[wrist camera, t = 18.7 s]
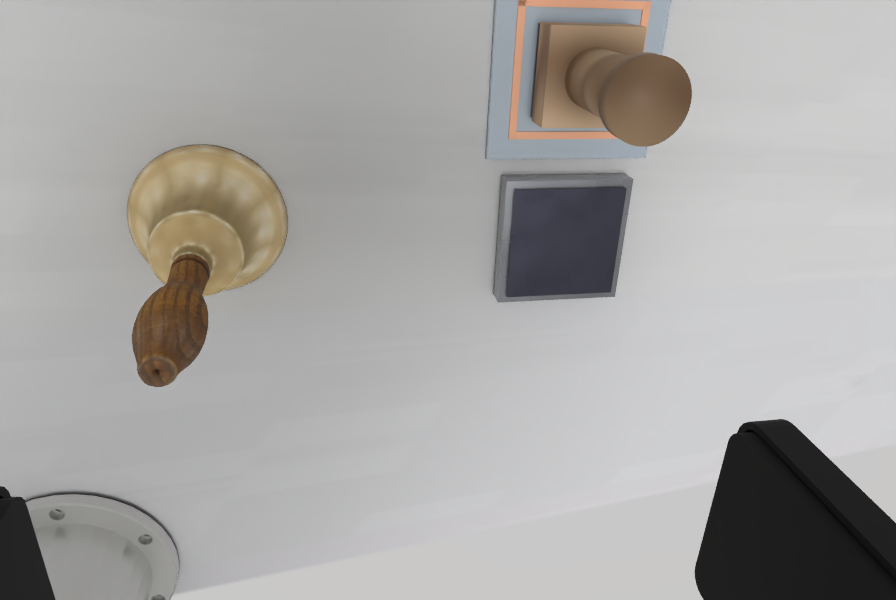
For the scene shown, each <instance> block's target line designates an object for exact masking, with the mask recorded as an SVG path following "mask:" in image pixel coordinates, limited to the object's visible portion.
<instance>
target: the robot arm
mask: <svg viewBox="0 0 896 600" xmlns="http://www.w3.org/2000/svg"><path fill="white" fill-rule="evenodd" d="M178 571H179V560H178V555H177V550H176V548H175V546H174V544H173V542H172V540H171V538H170V537H169V536H168V534H167V533H166V532H165V531H164V529H163V528H162V527H161V526H160V525H159V524H158V523H156V522H155V521H154V520H153V519H152V518H150V517H149V516H148V515H146V514H144V513H142V512H141V511H139V510H137V509H135V508H134V507H131V506H129V505H126V504H123V503H121V502H118V501H116V500H111V499H107V498H102V497H98V496H90V495H78V494H69V495H53V496H48V497H43V498H38V499H33V500H30V501H28V502H25V500H24V499H23V498H22V497H11V496H10V494H9V491H8V490H7V489H6V488H5V487H1V486H0V600H170V599H171V597H172V595H173V593H174V591H175V587H176V583H177V579H178ZM695 579H696V584H697V587H698V590H699V592H700V594H701V596H702V598H703V599H704V600H896V523H895V522H894V521H893V520H892V519H891V518H890V517H889V516H888V515H887V514H886V513H885V512H884V511H883V510H881V508H879V507H878V506H877V505H876V504H875V503H874V502H873V501H872V500H871V499H870V498H869V497H868V496H867V495H866V494H865V493H864V492H863V491H862V490H861V489H860V488H859V487H858V486H856V485H855V483H853V482H852V481H851V480H850V479H849V478H848V477H847V476H846V475H845V474H844V473H843V472H842V471H841V470H840V469H839V468H838V467H837V466H836V465H835V464H834V463H833V462H832V461H831V460H830V459H829V458H828V457H827V456H826V455H824V454H823V453H822V452H821V451H820V450H819V449H818V448H817V447H816V446H815V445H814V444H813V443H812V442H811V441H810V440H809V439H808V438H807V437H806V436H805V435H804V434H803V433H802V432H801V431H800V430H799V429H797V428H796V427H795V426H794V425H793V424H792V423H790V422H789V421H787V420H783V419H779V420H767V421H755V422H747V423H744V424H743V425H742V426H741V427H740V428H739V430H738V432H737V433H736V434H733V435H732V436H731V437H730V439H729V441H728V445H727V449H726V452H725V456H724V460H723V464H722V468H721V471H720V475H719V479H718V483H717V487H716V491H715V494H714V498H713V502H712V506H711V509H710V513H709V517H708V521H707V524H706V528H705V532H704V536H703V540H702V544H701V548H700V551H699V555H698V558H697V562H696V567H695Z"/></svg>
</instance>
